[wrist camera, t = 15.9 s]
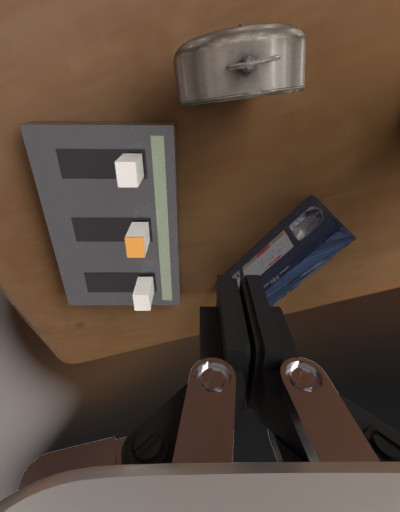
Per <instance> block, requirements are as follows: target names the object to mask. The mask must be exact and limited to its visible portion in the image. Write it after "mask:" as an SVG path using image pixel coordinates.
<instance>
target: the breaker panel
mask: <svg viewBox="0 0 400 512" xmlns="http://www.w3.org/2000/svg"><path fill="white" fill-rule="evenodd" d="M19 125H20V129H21V132H22V136H23V140H24V143H25V147H26V151H27V154H28V158H29V162H30V165H31V169H32V172H33V176H34V180H35V183H36V187H37V191H38V194H39V198H40V201H41V205H42V209H43V212H44V216H45V220H46V223H47V227H48V231H49V234H50V238H51V241H52V245H53V249H54V252H55V256H56V260H57V263H58V267H59V271H60V274H61V278H62V281H63V285H64V289H65V292H66V296H67V300H68V303H69V305H134V303H133V292H134V288H135V285H136V282H137V278H138V277H153V283H154V295H153V300H152V305H180V301H181V274H180V243H179V212H178V181H177V149H176V122H78V121H32V122H28V123H24V124H19ZM123 153H142V159H143V170H144V178H143V179H142V181H141V183H140V185H139V187H118V184H117V177H116V169H115V161H116V160H117V159H118V158H119V157H120V156H121V155H122V154H123ZM132 222H149V233H150V242H149V246H148V249H147V253H146V256H145V258H127V253H126V245H125V236H126V234H127V231H128V229H129V227H130V225H131V223H132Z"/></svg>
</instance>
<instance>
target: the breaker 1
mask: <svg viewBox="0 0 400 512" xmlns="http://www.w3.org/2000/svg"><path fill="white" fill-rule="evenodd" d="M115 169H116V177H117V184H118V187H139V185H140V183H141V181H142V179H143V178H144V170H143V159H142V153H123V154H122V155H121V156H120V157H119V158H118V159H117V160H116V161H115Z"/></svg>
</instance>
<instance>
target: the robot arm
mask: <svg viewBox="0 0 400 512" xmlns="http://www.w3.org/2000/svg"><path fill="white" fill-rule="evenodd" d="M245 398H246V404H247V409H248V410H253V415H254V420H260V423H262V424H263V425H264V426H265V427H267V428H268V435H269V439H270V441H271V444H272V447H273V450H274V453H275V456H276V458H277V462H246V463H245V462H242V463H241V462H239V463H233V440H234V430H235V428H236V427H237V426H238V425H239V424H240V423H241V418H242V411H243V409H244V402H245ZM0 512H400V433H399V432H397V431H396V430H395V429H393V428H392V427H390V426H389V425H387V424H386V423H384V422H382V421H381V420H379V419H378V418H376V417H375V416H373V415H371V414H370V413H368V412H367V411H365V410H363V409H362V408H360V407H359V406H357V405H356V404H354V403H353V402H351V401H350V400H348V399H346V398H345V397H343V396H342V395H340V394H338V392H337V391H336V389H335V387H334V386H333V384H332V383H331V381H330V380H329V378H328V376H327V375H326V373H325V372H324V370H323V369H322V368H321V367H320V366H319V365H317V364H316V363H315V362H312V361H311V360H308V359H305V358H301V357H299V355H298V352H297V350H296V347H295V344H294V342H293V339H292V336H291V333H290V331H289V328H288V325H287V323H286V320H285V318H284V315H283V312H282V310H281V308H280V307H270V306H269V303H268V300H267V297H266V294H265V291H264V287H263V284H262V281H261V278H260V276H259V275H245V278H240V284H239V287H238V283H237V278H232V275H218V279H217V302H216V307H200V361H198V362H197V363H196V364H195V365H194V366H193V367H192V369H191V372H190V376H189V380H188V384H187V385H185V386H184V387H183V388H182V389H181V390H180V391H178V392H177V393H176V394H175V395H174V396H173V397H171V398H170V399H169V400H168V401H167V402H166V403H164V404H163V405H162V406H161V407H160V408H159V409H158V410H156V411H155V412H154V413H153V414H152V415H150V416H149V417H148V418H147V419H146V420H145V421H143V422H142V423H141V424H140V425H139V426H137V427H136V428H135V429H134V430H133V431H132V432H131V433H130V434H129V435H128V436H127V437H125V438H121V439H115V437H111V438H107V439H102V440H99V441H95V442H90V443H86V444H82V445H78V446H74V447H70V448H66V449H62V450H58V451H54V452H50V453H47V454H45V455H42V456H40V457H39V458H38V459H36V460H35V461H34V462H32V463H31V464H30V465H29V467H28V468H27V469H26V471H25V472H24V474H23V476H22V479H21V481H20V483H19V488H18V490H17V491H16V492H14V493H12V494H10V495H9V496H7V497H6V498H4V499H2V500H1V501H0Z"/></svg>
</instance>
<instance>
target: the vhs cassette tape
mask: <svg viewBox="0 0 400 512" xmlns="http://www.w3.org/2000/svg"><path fill="white" fill-rule="evenodd" d="M355 239H356V237H354V236H353V235H352V234H351V232H350V231H349V230H348V229H347V228H346V227H345V226H344V225H343V224H342V223H341V222H340V221H339V220H338V219H337V218H336V217H335V216H334V215H333V214H332V213H331V212H330V211H329V210H328V209H327V208H326V207H325V206H324V205H322V204H321V203H320V202H319V200H317V199H316V198H315V197H314V196H312V195H310V196H309V197H308V198H307V199H306V200H305V201H304V202H302V203H301V204H300V205H299V206H298V207H297V208H296V209H295V210H294V211H292V212H291V213H290V214H289V215H288V216H287V217H286V218H285V219H284V220H283V221H281V222H280V223H279V224H278V225H277V226H276V227H275V228H274V229H273V230H272V231H271V232H270V233H268V234H267V235H266V236H265V237H264V238H263V239H262V240H261V241H260V242H259V243H258V244H257V245H255V246H254V247H253V248H252V249H251V250H250V251H249V252H248V253H247V254H246V255H245V256H243V257H242V258H241V259H240V260H239V261H238V262H237V263H236V264H235V265H234V266H233V267H232V268H231V269H230V270H228V271H227V272H226V273H225V274H224V275H232V278H237V283H238V287H239V284H240V278H245V275H259V276H260V278H261V281H262V284H263V287H264V291H265V294H266V297H267V300H268V303H269V306H270V307H272V306H273V305H275V304H276V303H277V302H278V301H279V300H281V299H282V298H283V297H284V296H285V295H286V294H287V292H288V291H289V292H290V291H291V290H293V289H294V288H296V287H297V286H298V285H299V284H300V283H301V282H303V281H304V280H305V279H307V278H308V277H309V276H310V275H312V274H313V273H314V272H315V271H317V270H318V269H319V268H320V267H321V266H323V265H324V264H325V263H326V262H327V261H329V260H330V259H331V258H332V257H333V256H334V255H335V254H336V253H338V252H339V251H340V250H341V249H342V248H344V247H346V246H347V245H349V244H350V243H351V242H352V241H353V240H355ZM216 294H217V282H216Z"/></svg>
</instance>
